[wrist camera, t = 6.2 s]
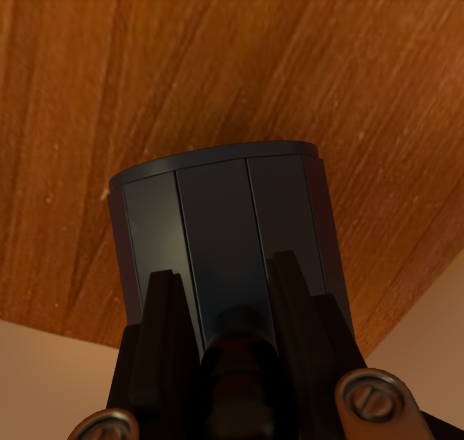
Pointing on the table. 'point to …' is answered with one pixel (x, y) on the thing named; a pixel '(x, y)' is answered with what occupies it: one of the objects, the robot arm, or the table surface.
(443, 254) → the table surface
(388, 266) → the table surface
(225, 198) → the pot
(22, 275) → the table surface
